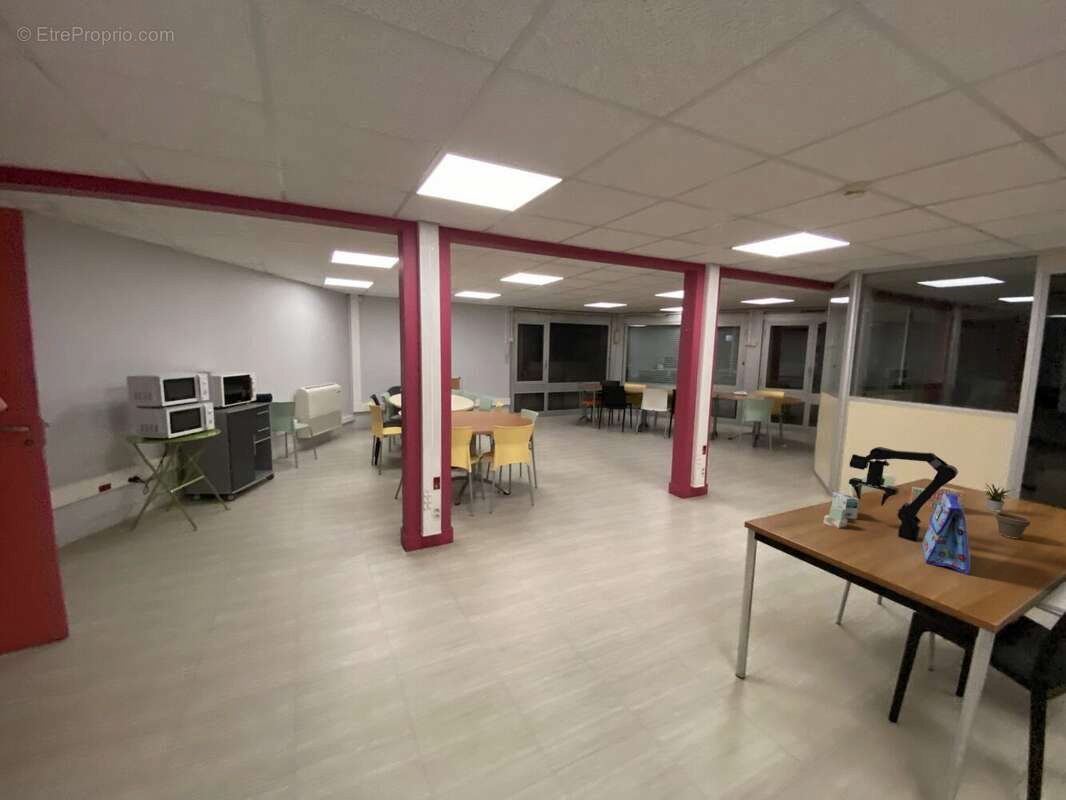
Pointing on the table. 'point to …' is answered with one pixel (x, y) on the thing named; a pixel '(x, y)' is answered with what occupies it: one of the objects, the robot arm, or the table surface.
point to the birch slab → (835, 522)
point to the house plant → (996, 498)
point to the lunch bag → (947, 536)
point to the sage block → (837, 513)
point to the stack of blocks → (938, 496)
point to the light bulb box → (846, 504)
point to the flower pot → (1011, 524)
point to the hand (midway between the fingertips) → (870, 502)
